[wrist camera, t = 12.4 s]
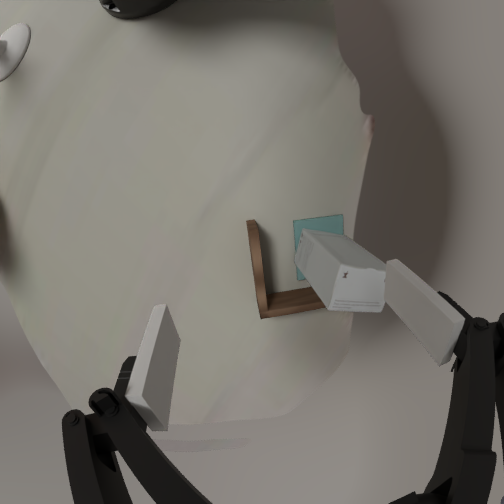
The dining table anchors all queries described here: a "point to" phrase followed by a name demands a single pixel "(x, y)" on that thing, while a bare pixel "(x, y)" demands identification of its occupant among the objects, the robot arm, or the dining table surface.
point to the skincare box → (341, 272)
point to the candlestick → (13, 48)
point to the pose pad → (321, 224)
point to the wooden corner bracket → (282, 300)
